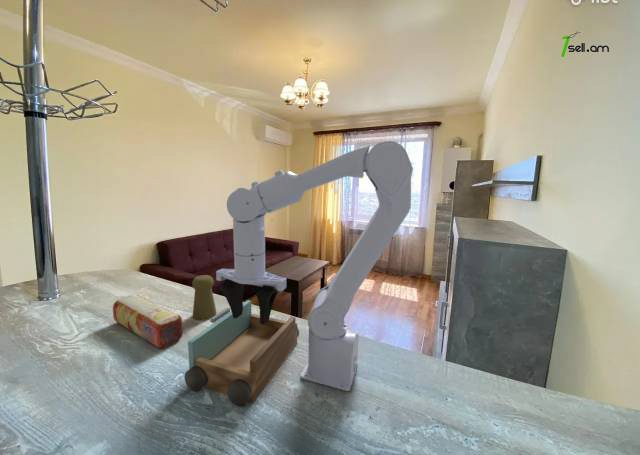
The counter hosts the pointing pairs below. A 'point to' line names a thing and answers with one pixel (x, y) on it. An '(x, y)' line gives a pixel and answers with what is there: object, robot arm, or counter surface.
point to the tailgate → (218, 334)
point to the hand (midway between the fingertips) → (251, 318)
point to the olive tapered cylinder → (203, 298)
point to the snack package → (148, 320)
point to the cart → (246, 361)
